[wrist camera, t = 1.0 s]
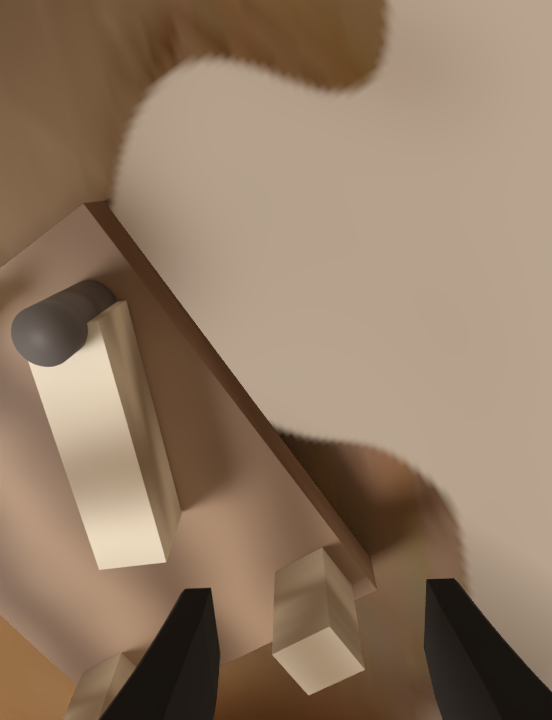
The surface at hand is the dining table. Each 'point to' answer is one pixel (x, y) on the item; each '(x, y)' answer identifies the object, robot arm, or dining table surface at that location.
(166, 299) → the stool seat
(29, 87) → the dining table surface
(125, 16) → the dining table surface
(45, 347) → the stool leg
